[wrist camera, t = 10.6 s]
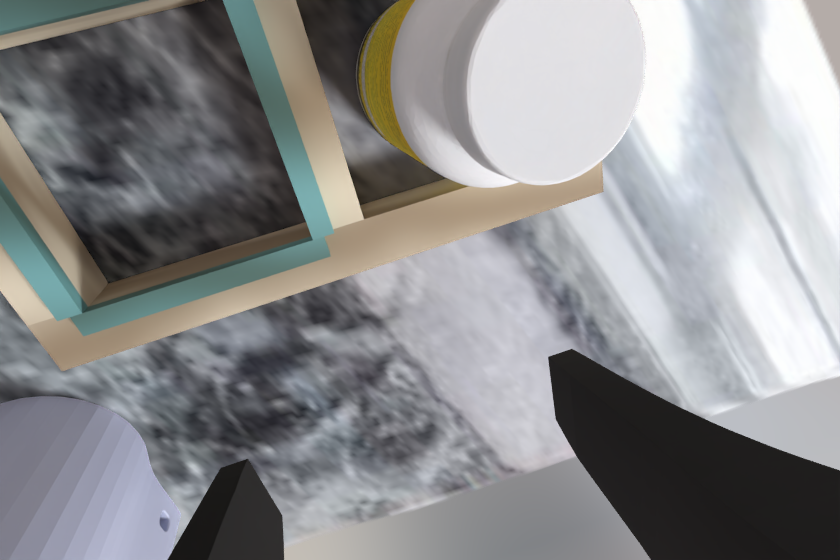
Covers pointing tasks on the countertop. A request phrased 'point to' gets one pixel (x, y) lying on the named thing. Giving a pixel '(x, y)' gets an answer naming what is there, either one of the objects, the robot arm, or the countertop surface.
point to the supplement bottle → (503, 85)
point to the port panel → (246, 261)
